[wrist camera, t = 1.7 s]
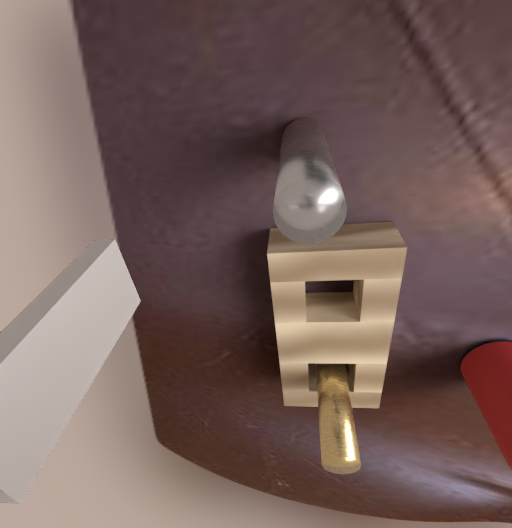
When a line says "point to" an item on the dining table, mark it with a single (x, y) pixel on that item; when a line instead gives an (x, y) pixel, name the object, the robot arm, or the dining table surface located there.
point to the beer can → (493, 389)
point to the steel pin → (307, 186)
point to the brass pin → (336, 420)
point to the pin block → (336, 308)
